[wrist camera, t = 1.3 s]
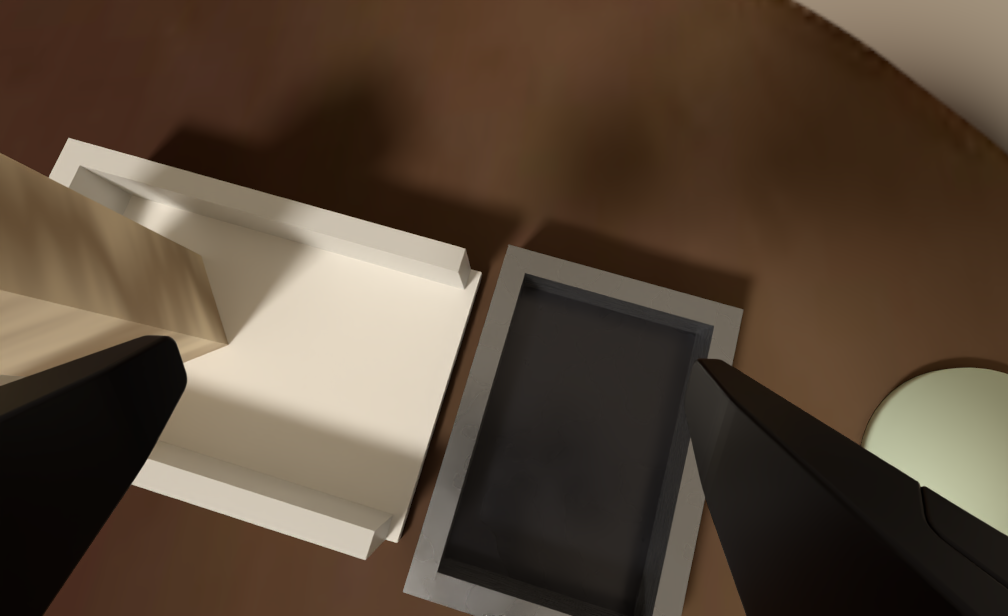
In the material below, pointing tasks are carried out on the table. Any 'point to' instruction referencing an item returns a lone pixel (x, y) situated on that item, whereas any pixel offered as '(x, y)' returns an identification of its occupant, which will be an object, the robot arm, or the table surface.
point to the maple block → (90, 279)
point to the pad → (950, 437)
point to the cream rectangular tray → (296, 352)
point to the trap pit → (572, 449)
